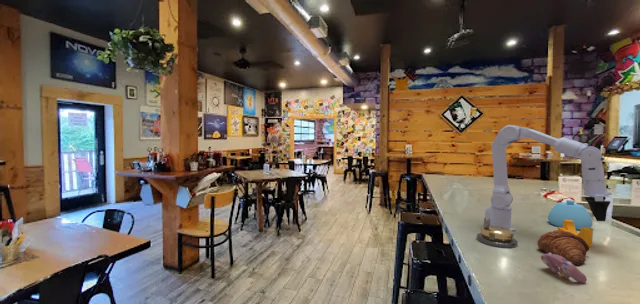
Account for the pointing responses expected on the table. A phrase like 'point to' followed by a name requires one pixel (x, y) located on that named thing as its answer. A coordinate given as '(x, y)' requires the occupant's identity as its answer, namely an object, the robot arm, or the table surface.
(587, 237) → the pipe clamp
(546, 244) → the pastry
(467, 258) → the table surface
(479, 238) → the base plate
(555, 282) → the table surface
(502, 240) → the round lid with handle
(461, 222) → the table surface
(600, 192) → the robot arm
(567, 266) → the video game controller
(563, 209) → the sugar bowl
